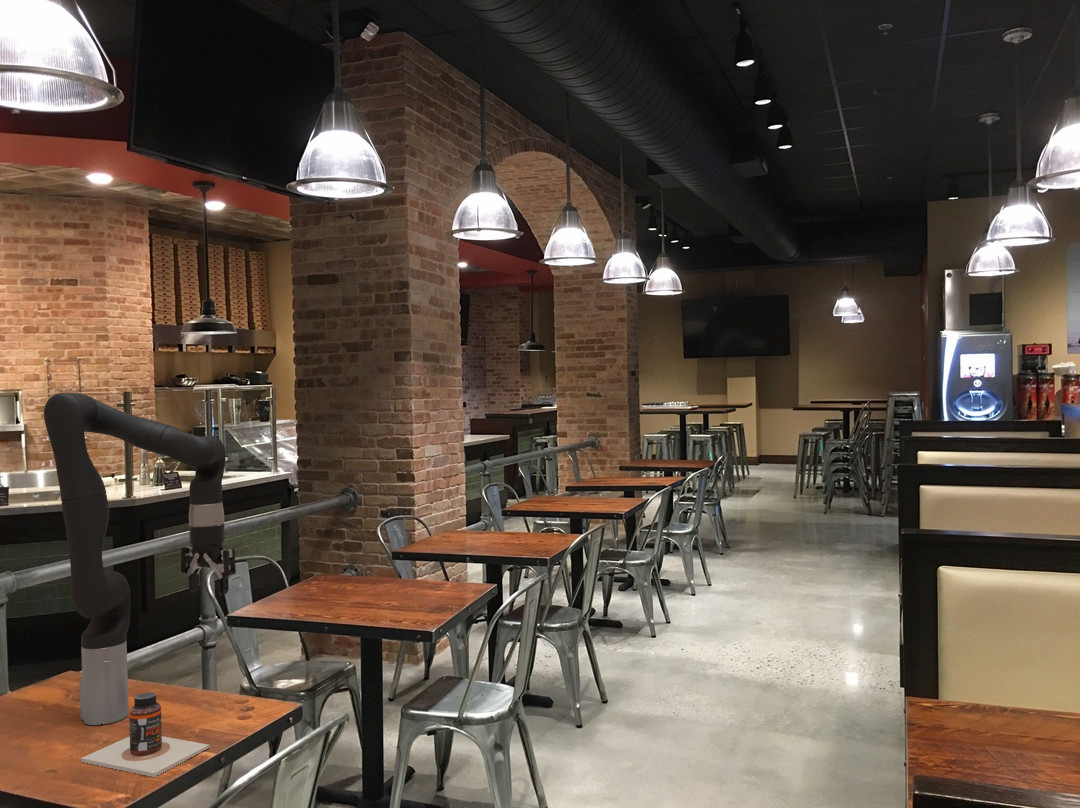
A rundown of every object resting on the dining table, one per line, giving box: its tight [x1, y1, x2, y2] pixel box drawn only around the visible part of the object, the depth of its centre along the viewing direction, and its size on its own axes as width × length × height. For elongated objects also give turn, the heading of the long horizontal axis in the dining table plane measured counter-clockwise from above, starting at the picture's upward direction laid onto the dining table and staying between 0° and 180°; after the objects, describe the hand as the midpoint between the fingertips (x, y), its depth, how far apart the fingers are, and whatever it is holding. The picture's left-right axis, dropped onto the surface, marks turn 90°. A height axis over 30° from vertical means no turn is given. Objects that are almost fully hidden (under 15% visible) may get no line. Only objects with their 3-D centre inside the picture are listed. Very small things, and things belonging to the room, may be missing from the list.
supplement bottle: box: [128, 691, 163, 755], centre depth 171 cm, size 6×6×11 cm
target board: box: [80, 735, 211, 778], centre depth 171 cm, size 20×14×1 cm
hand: (208, 592), depth 193 cm, fingers open, 8 cm apart
